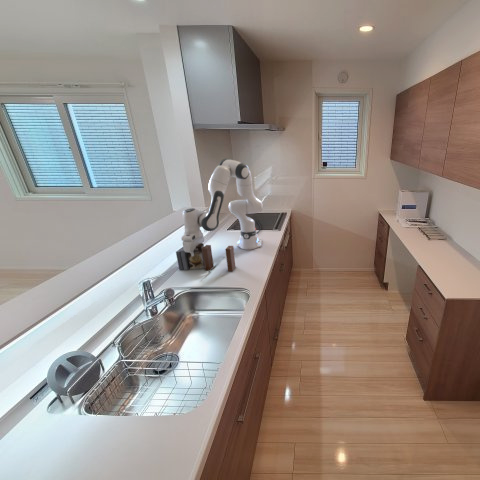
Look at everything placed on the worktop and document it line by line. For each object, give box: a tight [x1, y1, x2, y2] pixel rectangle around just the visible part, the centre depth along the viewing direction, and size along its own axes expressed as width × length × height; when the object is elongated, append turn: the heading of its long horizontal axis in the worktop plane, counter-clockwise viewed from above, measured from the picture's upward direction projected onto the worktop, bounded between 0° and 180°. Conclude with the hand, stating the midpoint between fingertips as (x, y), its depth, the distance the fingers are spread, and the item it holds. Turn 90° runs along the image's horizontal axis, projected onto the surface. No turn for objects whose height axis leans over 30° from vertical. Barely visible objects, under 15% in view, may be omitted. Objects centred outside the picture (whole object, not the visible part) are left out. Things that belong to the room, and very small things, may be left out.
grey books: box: [175, 246, 190, 271], centre depth 166 cm, size 10×6×14 cm, turn 179°
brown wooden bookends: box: [202, 244, 236, 272], centre depth 163 cm, size 6×18×16 cm, turn 89°
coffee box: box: [188, 242, 205, 270], centre depth 165 cm, size 9×6×16 cm
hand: (196, 253), depth 165 cm, fingers closed on coffee box, 7 cm apart
